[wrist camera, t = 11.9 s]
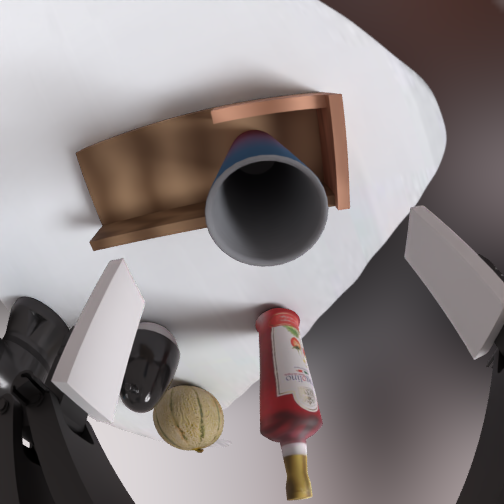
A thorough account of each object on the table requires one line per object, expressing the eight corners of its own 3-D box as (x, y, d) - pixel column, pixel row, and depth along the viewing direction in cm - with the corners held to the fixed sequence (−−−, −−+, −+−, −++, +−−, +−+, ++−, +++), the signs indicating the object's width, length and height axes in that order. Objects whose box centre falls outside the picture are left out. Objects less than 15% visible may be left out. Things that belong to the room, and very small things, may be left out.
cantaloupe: (150, 371, 52) (137, 435, 39) (220, 372, 52) (217, 441, 39) (168, 403, 60) (162, 456, 47) (228, 404, 60) (227, 460, 47)
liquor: (309, 311, 43) (348, 489, 20) (281, 338, 46) (302, 501, 23) (271, 294, 41) (296, 494, 17) (244, 323, 44) (250, 503, 21)
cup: (216, 126, 26) (193, 164, 14) (284, 118, 26) (327, 149, 13) (226, 187, 30) (217, 272, 17) (289, 180, 30) (327, 259, 17)
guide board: (111, 226, 34) (90, 255, 28) (83, 148, 28) (52, 165, 22) (329, 184, 32) (349, 208, 26) (320, 92, 26) (341, 94, 20)
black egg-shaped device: (179, 313, 43) (163, 399, 30) (185, 353, 48) (176, 428, 35) (119, 309, 42) (90, 386, 29) (133, 348, 48) (114, 418, 35)
